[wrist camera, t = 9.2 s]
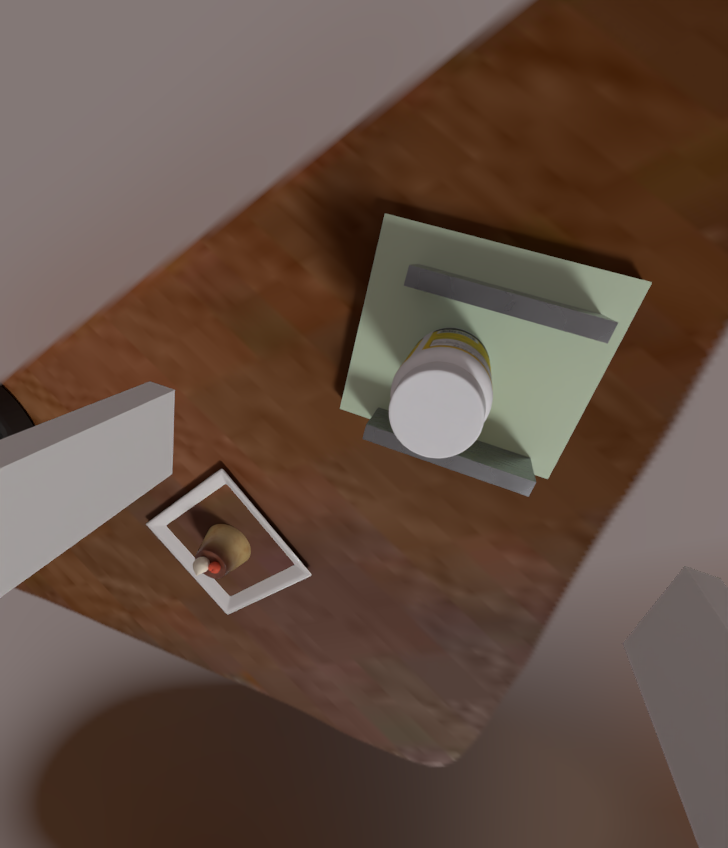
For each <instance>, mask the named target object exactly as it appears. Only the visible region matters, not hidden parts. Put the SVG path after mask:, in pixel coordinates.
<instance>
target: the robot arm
mask: <svg viewBox="0 0 728 848" xmlns="http://www.w3.org/2000/svg"><path fill="white" fill-rule="evenodd" d="M174 399H175V390H173V389H170V388H168V387H165V386H162V385H159V384H156V383H153V382H147V383H145V384H142V385H139V386H137V387H134V388H132V389H129V390H127V391H124V392H121V393H119V394H116V395H114V396H111V397H109V398H106V399H103V400H101V401H98V402H96V403H93V404H91V405H88V406H85V407H83V408H80V409H78V410H75V411H73V412H70V413H67V414H65V415H62V416H60V417H57V418H55V419H52V420H49V421H47V422H44V423H42V424H39V425H37V426H33V424H32V423H31V421H30V419H29V418H28V416H27V415H26V413H25V412H24V411H23V409H22V408H21V407H20V405H19V404H18V403H17V402H16V401H15V400H14V398H13V397H12V396H11V395H10V394H9V393H8V392H7V391H6V390H5V389H4V388H2V387H1V386H0V598H1V597H2V596H3V595H5V594H6V593H8V592H9V591H10V590H12V589H13V588H14V587H16V586H17V585H19V584H20V583H21V582H23V581H24V580H26V579H27V578H28V577H30V576H31V575H33V574H34V573H35V572H37V571H38V570H39V569H41V568H42V567H44V566H45V565H46V564H48V563H49V562H51V561H52V560H53V559H55V558H56V557H58V556H59V555H60V554H62V553H63V552H64V551H66V550H67V549H69V548H70V547H71V546H73V545H74V544H76V543H77V542H78V541H80V540H81V539H82V538H84V537H85V536H87V535H88V534H89V533H91V532H92V531H94V530H95V529H96V528H98V527H99V526H101V525H102V524H103V523H105V522H106V521H107V520H109V519H110V518H112V517H113V516H114V515H116V514H117V513H119V512H120V511H121V510H123V509H124V508H125V507H127V506H128V505H130V504H131V503H132V502H134V501H135V500H137V499H138V498H139V497H141V496H142V495H144V494H145V493H146V492H148V491H149V490H150V489H152V488H153V487H155V486H156V485H157V484H159V483H160V482H162V481H163V480H164V479H166V478H167V477H169V476H170V475H171V474H172V466H173V432H174ZM623 646H624V648H625V651H626V654H627V657H628V659H629V662H630V664H631V667H632V670H633V673H634V675H635V678H636V681H637V683H638V686H639V688H640V691H641V694H642V697H643V699H644V702H645V705H646V707H647V710H648V712H649V715H650V718H651V721H652V723H653V726H654V729H655V731H656V734H657V736H658V739H659V742H660V745H661V747H662V750H663V752H664V755H665V758H666V761H667V763H668V766H669V768H670V771H671V774H672V777H673V779H674V782H675V785H676V787H677V790H678V793H679V795H680V798H681V800H682V803H683V806H684V809H685V811H686V814H687V817H688V819H689V822H690V825H691V827H692V830H693V833H694V835H695V838H696V841H697V843H698V846H699V848H728V588H727V587H726V585H725V584H724V582H723V581H722V580H721V579H720V578H718V577H715V576H712V575H709V574H706V573H704V572H701V571H698V570H695V569H692V568H689V567H686V566H685V567H683V569H682V570H681V571H680V573H679V574H678V575H677V576H676V577H675V579H674V580H673V581H672V582H671V584H670V585H669V586H668V587H667V589H666V590H665V591H664V592H663V594H662V595H661V596H660V597H659V599H658V600H657V601H656V602H655V604H654V605H653V606H652V608H651V609H650V610H649V611H648V612H647V614H646V615H645V616H644V617H643V619H642V620H641V621H640V622H639V624H638V625H637V626H636V627H635V629H634V630H633V631H632V632H631V634H630V635H629V636H628V637H627V639H626V640H625V641H624V642H623Z"/></svg>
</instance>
